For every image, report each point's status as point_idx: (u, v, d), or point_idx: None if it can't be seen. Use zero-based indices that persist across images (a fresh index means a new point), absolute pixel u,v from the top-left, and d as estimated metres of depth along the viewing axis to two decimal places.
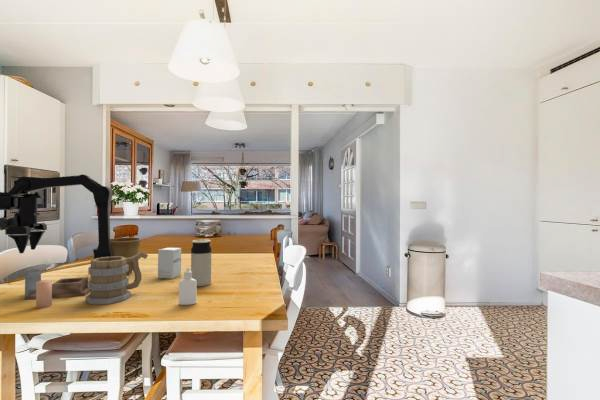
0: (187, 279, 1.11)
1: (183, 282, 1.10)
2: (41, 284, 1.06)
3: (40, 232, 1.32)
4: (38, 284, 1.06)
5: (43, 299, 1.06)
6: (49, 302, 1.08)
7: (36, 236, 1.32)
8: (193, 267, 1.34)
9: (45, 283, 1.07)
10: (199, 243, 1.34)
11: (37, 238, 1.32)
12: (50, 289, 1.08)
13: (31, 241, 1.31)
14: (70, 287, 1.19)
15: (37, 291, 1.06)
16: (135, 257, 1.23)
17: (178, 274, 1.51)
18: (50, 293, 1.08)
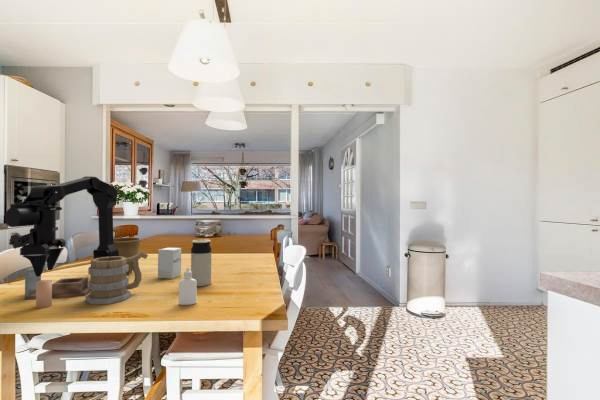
0: (187, 279, 1.11)
1: (183, 282, 1.10)
2: (41, 284, 1.06)
3: (58, 249, 1.14)
4: (38, 284, 1.06)
5: (43, 299, 1.06)
6: (49, 302, 1.08)
7: (54, 254, 1.13)
8: (193, 267, 1.34)
9: (45, 283, 1.07)
10: (199, 243, 1.34)
11: (55, 257, 1.13)
12: (50, 289, 1.08)
13: (48, 260, 1.12)
14: (70, 287, 1.19)
15: (37, 291, 1.06)
16: (135, 257, 1.23)
17: (178, 274, 1.51)
18: (50, 293, 1.08)
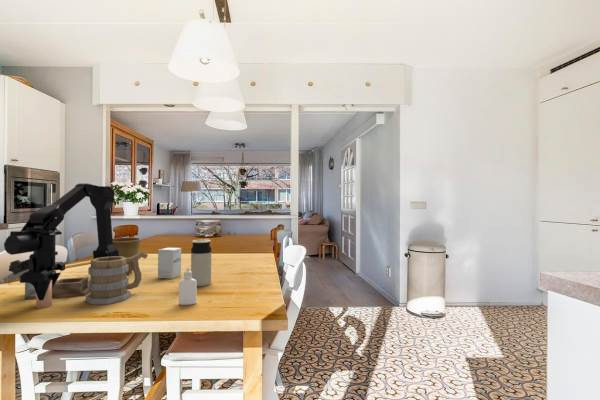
0: (187, 279, 1.11)
1: (183, 282, 1.10)
2: None
3: (55, 275, 1.11)
4: None
5: None
6: (49, 302, 1.08)
7: None
8: (193, 267, 1.34)
9: None
10: (199, 243, 1.34)
11: (52, 282, 1.11)
12: (50, 289, 1.08)
13: None
14: (70, 287, 1.19)
15: None
16: (135, 257, 1.23)
17: (178, 274, 1.51)
18: (50, 293, 1.08)
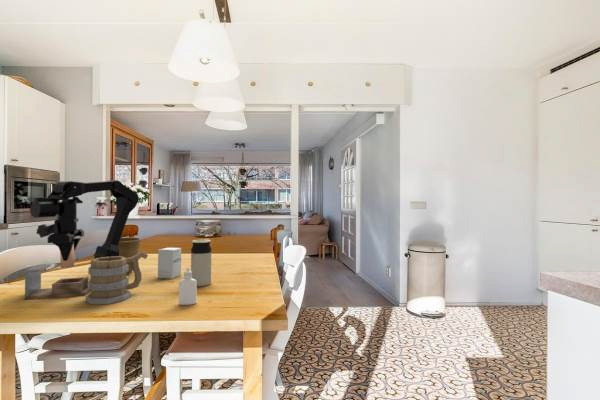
0: (187, 279, 1.11)
1: (183, 282, 1.10)
2: None
3: (76, 240, 1.24)
4: None
5: None
6: (72, 263, 1.20)
7: None
8: (193, 267, 1.34)
9: None
10: (199, 243, 1.34)
11: None
12: (72, 251, 1.21)
13: None
14: (70, 287, 1.19)
15: None
16: (135, 257, 1.23)
17: (178, 274, 1.51)
18: (72, 255, 1.20)
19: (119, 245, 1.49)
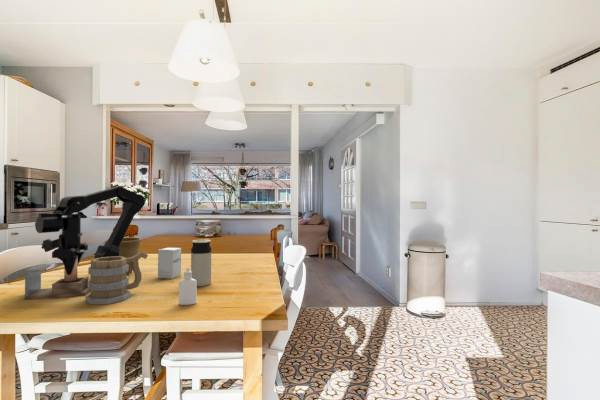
0: (187, 279, 1.11)
1: (183, 282, 1.10)
2: None
3: (80, 253, 1.27)
4: None
5: (71, 273, 1.22)
6: (75, 276, 1.23)
7: None
8: (193, 267, 1.34)
9: None
10: (199, 243, 1.34)
11: None
12: (76, 265, 1.23)
13: None
14: (70, 287, 1.19)
15: None
16: (135, 257, 1.23)
17: (178, 274, 1.51)
18: (76, 269, 1.23)
19: None
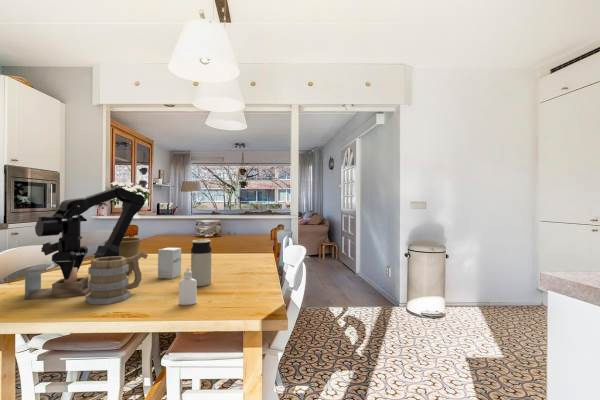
0: (187, 279, 1.11)
1: (183, 282, 1.10)
2: None
3: (82, 256, 1.29)
4: None
5: None
6: None
7: (78, 260, 1.28)
8: (193, 267, 1.34)
9: (72, 270, 1.22)
10: (199, 243, 1.34)
11: (79, 262, 1.28)
12: (76, 275, 1.23)
13: (73, 265, 1.27)
14: (70, 287, 1.19)
15: None
16: (135, 257, 1.23)
17: (178, 274, 1.51)
18: (75, 279, 1.23)
19: None
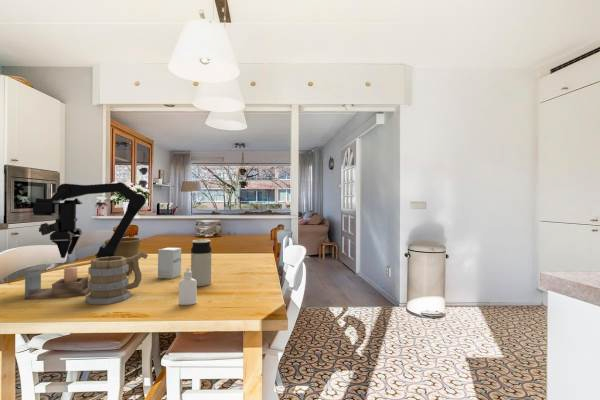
0: (187, 279, 1.11)
1: (183, 282, 1.10)
2: (68, 271, 1.21)
3: (76, 237, 1.36)
4: (66, 270, 1.21)
5: None
6: None
7: (73, 241, 1.36)
8: (193, 267, 1.34)
9: (72, 270, 1.22)
10: (199, 243, 1.34)
11: (74, 243, 1.36)
12: (76, 275, 1.23)
13: None
14: (70, 287, 1.19)
15: (65, 277, 1.21)
16: (135, 257, 1.23)
17: (178, 274, 1.51)
18: (75, 279, 1.23)
19: (119, 245, 1.49)
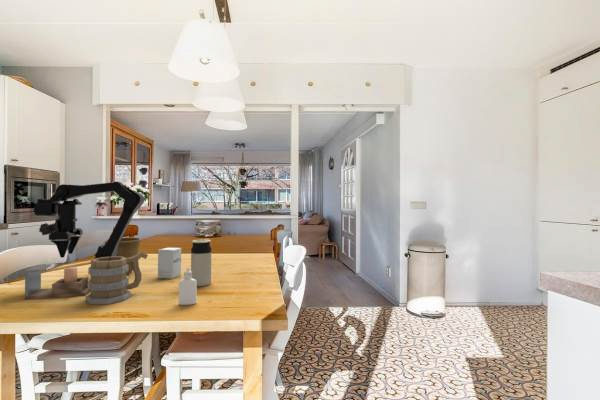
0: (187, 279, 1.11)
1: (183, 282, 1.10)
2: (68, 270, 1.21)
3: (77, 237, 1.39)
4: (66, 270, 1.21)
5: None
6: None
7: (73, 241, 1.38)
8: (193, 267, 1.34)
9: (72, 270, 1.22)
10: (199, 243, 1.34)
11: (74, 243, 1.38)
12: (76, 275, 1.23)
13: (69, 246, 1.37)
14: (70, 287, 1.19)
15: (65, 277, 1.21)
16: (135, 257, 1.23)
17: (178, 274, 1.51)
18: (75, 279, 1.23)
19: (119, 245, 1.49)
